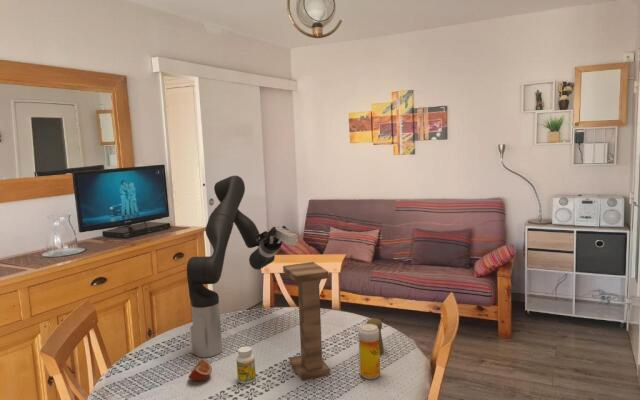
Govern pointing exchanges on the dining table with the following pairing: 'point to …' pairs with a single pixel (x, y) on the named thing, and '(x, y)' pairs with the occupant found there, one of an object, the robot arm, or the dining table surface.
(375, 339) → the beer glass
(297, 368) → the walnut stand
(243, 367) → the supplement bottle
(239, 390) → the dining table surface
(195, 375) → the fruit slice
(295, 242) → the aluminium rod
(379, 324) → the cork
